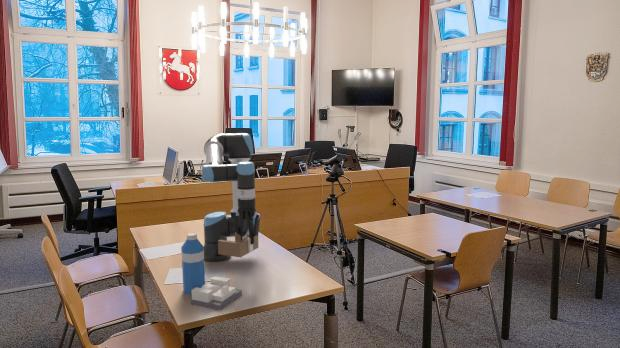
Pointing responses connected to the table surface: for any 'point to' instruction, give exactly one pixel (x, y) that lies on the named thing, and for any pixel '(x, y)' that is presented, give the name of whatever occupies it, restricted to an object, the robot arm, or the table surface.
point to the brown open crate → (236, 246)
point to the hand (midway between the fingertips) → (247, 250)
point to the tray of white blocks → (215, 294)
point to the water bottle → (192, 263)
